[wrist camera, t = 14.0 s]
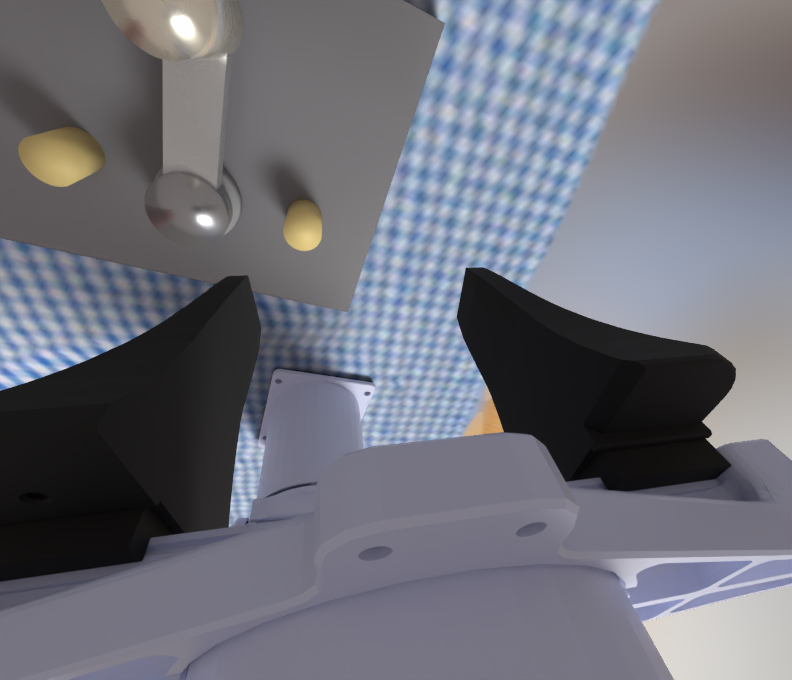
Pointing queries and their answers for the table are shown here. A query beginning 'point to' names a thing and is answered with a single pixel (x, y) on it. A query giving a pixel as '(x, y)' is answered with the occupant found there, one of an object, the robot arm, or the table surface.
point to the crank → (188, 109)
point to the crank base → (244, 143)
